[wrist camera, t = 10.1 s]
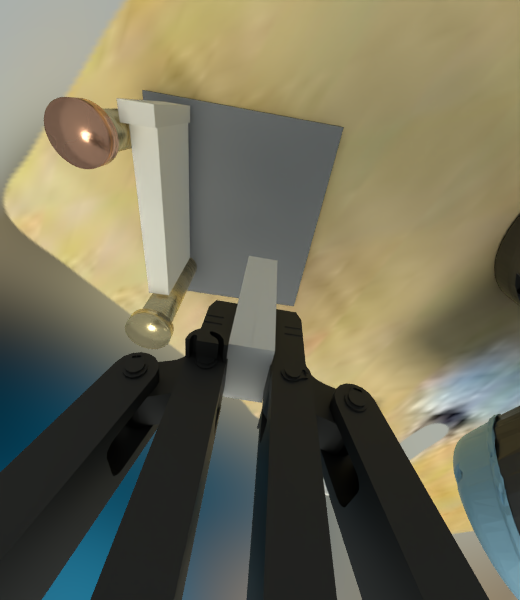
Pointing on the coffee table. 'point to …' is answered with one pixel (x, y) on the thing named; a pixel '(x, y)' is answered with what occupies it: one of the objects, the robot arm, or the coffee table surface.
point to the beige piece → (161, 185)
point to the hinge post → (159, 313)
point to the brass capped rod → (85, 132)
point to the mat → (253, 192)
